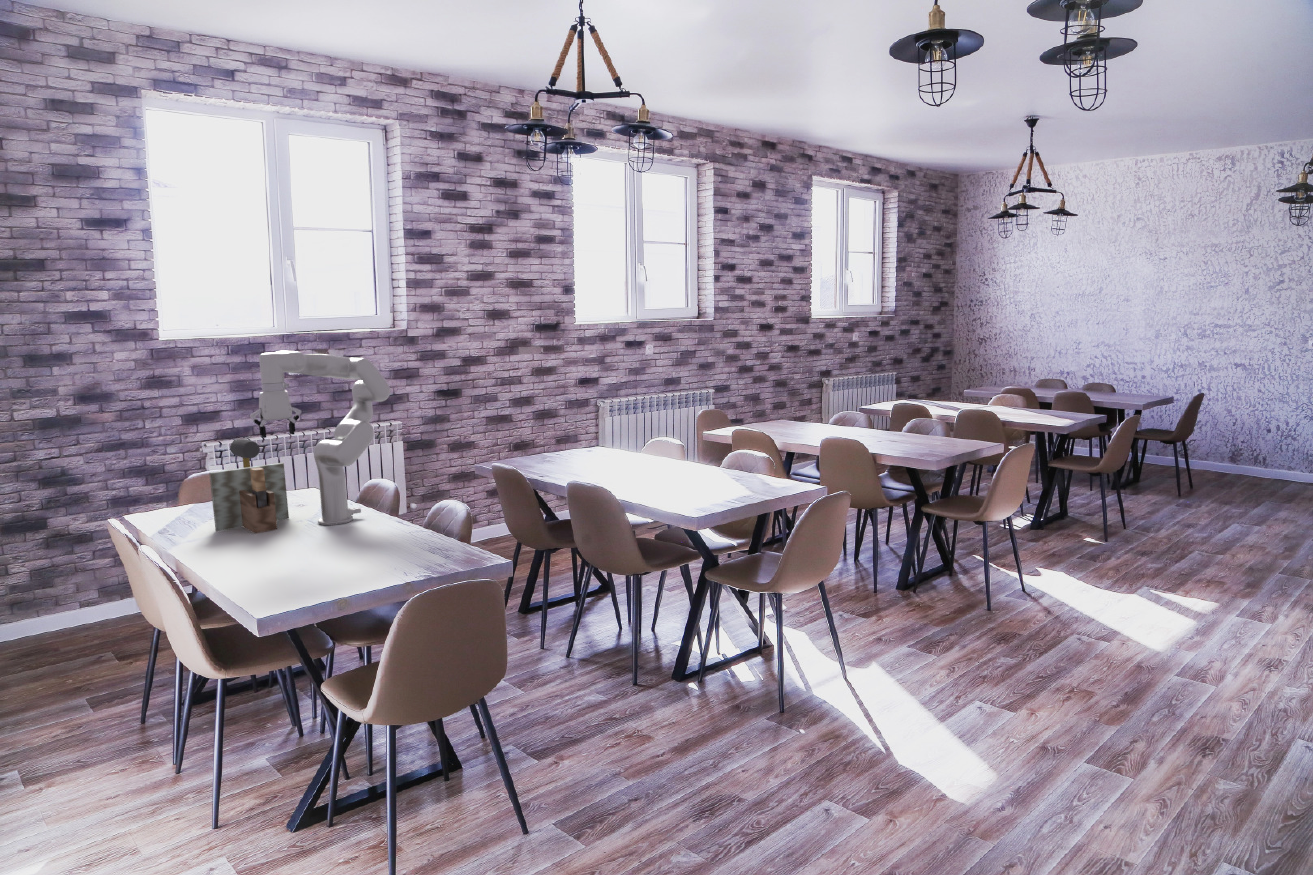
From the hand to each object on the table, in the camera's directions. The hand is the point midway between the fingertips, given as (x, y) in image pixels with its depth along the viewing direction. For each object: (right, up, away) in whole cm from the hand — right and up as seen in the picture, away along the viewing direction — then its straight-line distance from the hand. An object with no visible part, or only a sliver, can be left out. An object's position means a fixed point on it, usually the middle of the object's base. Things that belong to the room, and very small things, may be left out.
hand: (278, 435), depth 303 cm
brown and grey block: (-12, -26, +13) cm, 31 cm away
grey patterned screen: (-14, -35, +16) cm, 41 cm away
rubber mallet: (-30, -31, +42) cm, 60 cm away
